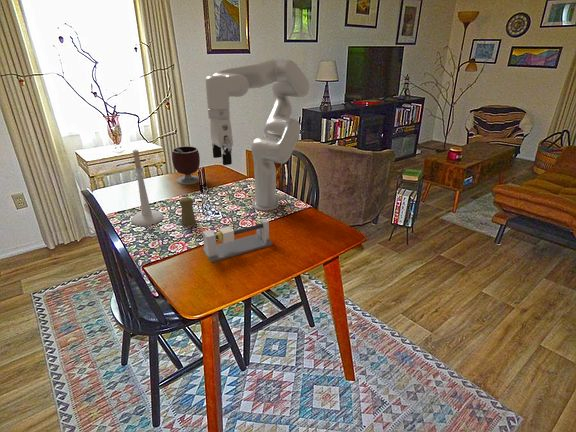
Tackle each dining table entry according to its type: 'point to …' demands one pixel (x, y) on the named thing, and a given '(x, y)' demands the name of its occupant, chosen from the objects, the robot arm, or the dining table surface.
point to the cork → (187, 212)
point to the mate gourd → (186, 163)
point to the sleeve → (227, 234)
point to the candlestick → (144, 200)
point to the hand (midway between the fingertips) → (222, 160)
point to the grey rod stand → (236, 242)
